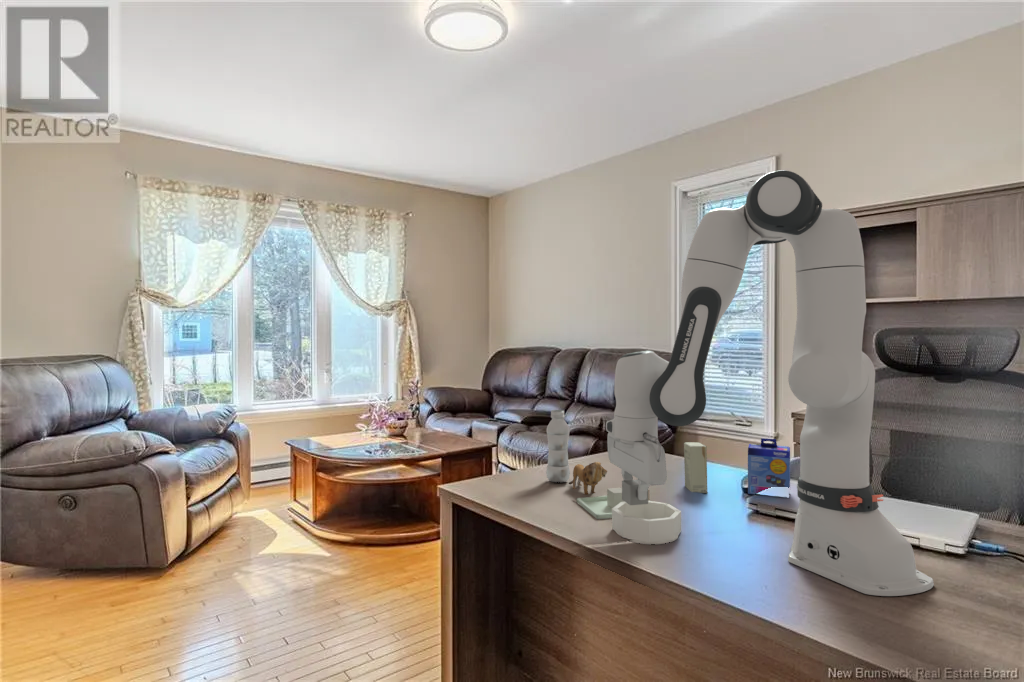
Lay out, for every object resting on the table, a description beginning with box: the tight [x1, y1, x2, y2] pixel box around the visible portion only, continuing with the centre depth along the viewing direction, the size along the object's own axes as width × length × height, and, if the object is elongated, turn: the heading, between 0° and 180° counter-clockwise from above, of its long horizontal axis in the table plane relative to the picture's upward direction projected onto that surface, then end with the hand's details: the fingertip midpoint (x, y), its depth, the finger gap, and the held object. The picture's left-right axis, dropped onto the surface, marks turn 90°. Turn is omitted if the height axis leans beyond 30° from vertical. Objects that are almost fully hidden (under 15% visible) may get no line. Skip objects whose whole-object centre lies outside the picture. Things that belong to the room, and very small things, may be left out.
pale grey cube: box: [606, 486, 625, 508], centre depth 134 cm, size 4×4×4 cm
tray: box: [576, 495, 612, 520], centre depth 134 cm, size 13×16×1 cm
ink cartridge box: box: [747, 437, 791, 495], centre depth 145 cm, size 10×6×14 cm, turn 64°
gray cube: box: [621, 479, 648, 505], centre depth 118 cm, size 4×4×4 cm
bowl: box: [611, 500, 682, 545], centre depth 118 cm, size 13×13×5 cm
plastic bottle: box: [545, 409, 571, 483], centre depth 158 cm, size 6×7×20 cm
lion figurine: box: [568, 461, 608, 496], centre depth 148 cm, size 15×5×9 cm, turn 29°
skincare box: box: [683, 441, 708, 494], centre depth 149 cm, size 6×4×12 cm
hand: (635, 495), depth 118 cm, fingers closed on gray cube, 4 cm apart
